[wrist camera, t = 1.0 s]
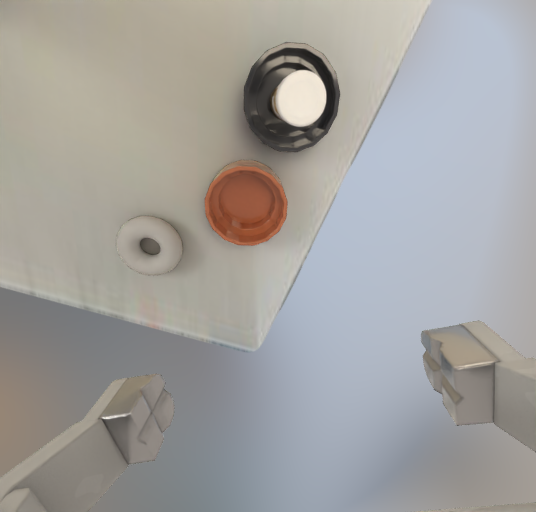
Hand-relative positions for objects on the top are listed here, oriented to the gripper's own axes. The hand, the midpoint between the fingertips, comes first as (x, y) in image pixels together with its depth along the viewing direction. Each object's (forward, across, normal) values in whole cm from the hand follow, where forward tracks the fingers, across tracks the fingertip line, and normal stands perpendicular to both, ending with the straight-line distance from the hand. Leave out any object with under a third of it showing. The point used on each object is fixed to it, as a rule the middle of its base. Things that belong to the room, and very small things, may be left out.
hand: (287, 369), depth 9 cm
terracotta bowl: (+36, +6, -1) cm, 37 cm away
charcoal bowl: (+35, -3, -12) cm, 38 cm away
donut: (+36, +23, +2) cm, 43 cm away
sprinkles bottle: (+35, -3, -12) cm, 37 cm away
